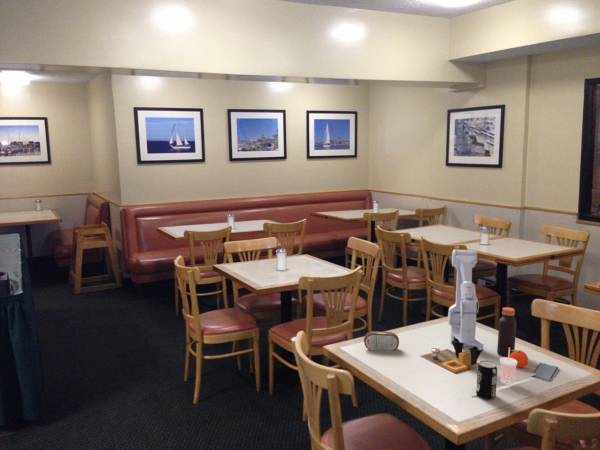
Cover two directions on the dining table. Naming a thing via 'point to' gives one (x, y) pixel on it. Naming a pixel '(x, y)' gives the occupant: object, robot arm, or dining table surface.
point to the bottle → (506, 332)
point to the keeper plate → (445, 357)
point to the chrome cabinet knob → (435, 353)
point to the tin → (381, 340)
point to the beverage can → (486, 380)
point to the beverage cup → (508, 370)
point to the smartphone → (545, 372)
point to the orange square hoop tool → (459, 362)
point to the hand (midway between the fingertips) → (466, 361)
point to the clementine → (519, 358)
